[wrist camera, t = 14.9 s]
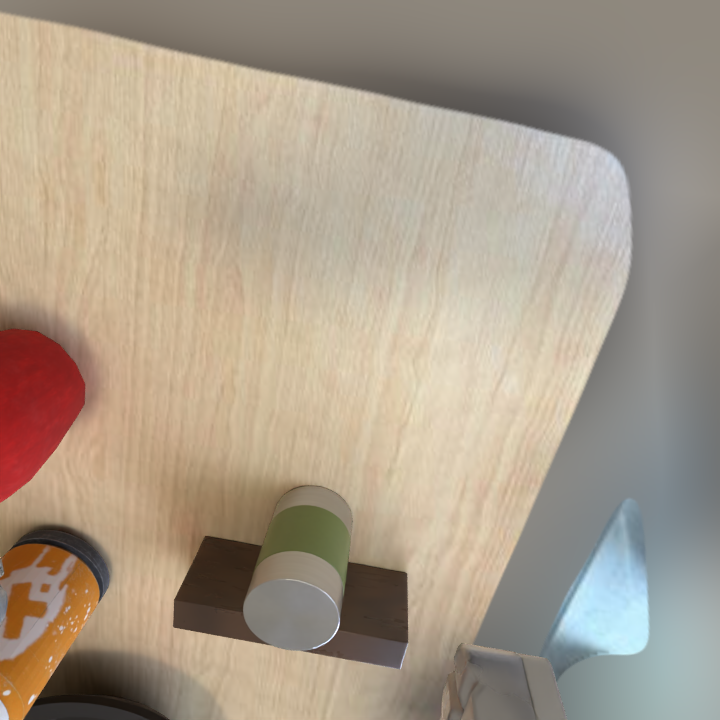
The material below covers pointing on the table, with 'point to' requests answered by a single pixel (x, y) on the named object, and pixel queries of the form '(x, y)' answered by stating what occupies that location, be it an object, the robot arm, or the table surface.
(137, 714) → the plate
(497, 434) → the table surface
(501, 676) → the robot arm
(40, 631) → the canister
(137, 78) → the table surface
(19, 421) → the apple
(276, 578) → the can
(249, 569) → the brown wooden block
